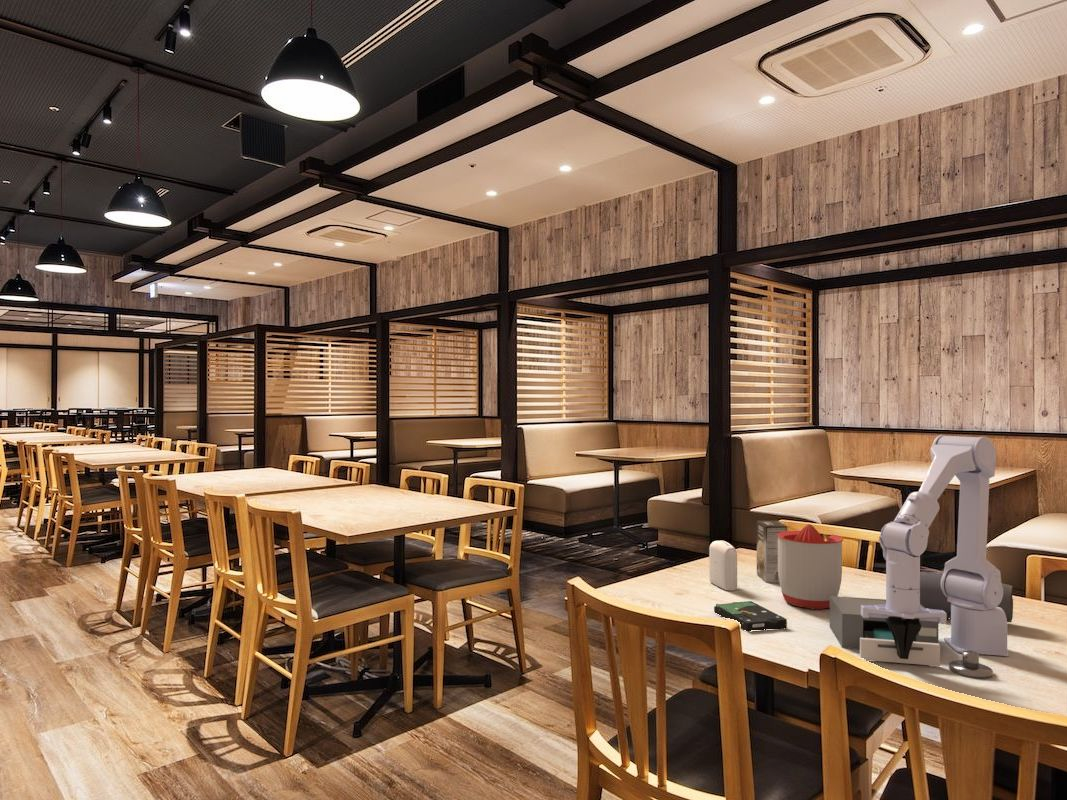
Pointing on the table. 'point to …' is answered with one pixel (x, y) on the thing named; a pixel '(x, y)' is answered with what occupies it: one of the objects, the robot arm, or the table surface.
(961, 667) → the spindle stand
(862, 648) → the drawer
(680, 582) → the table surface
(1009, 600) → the bluetooth speaker
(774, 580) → the coffee box
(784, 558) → the citrus juicer
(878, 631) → the teal rounded disc
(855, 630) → the player cabinet
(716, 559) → the photo printer
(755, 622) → the disk drive
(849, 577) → the table surface
